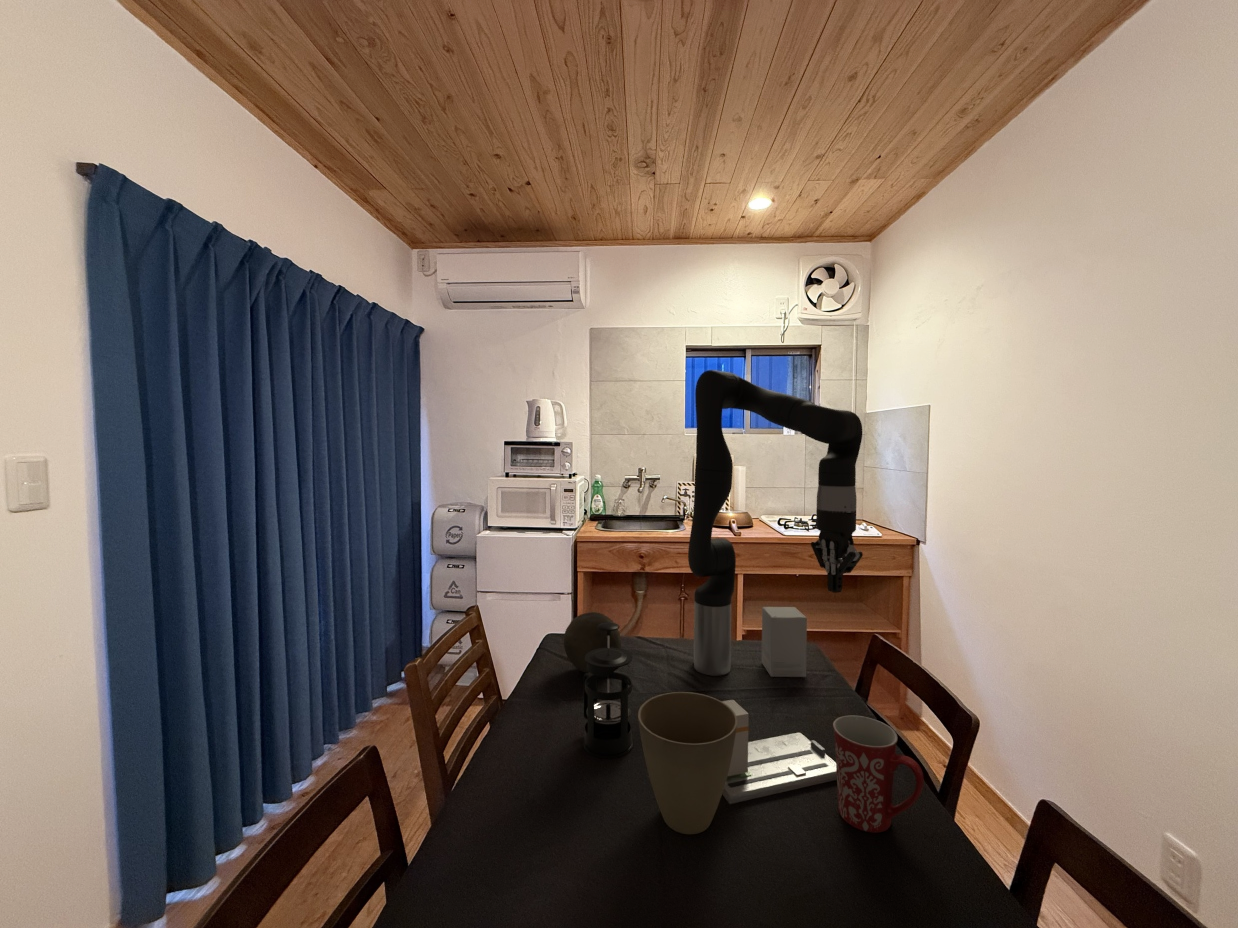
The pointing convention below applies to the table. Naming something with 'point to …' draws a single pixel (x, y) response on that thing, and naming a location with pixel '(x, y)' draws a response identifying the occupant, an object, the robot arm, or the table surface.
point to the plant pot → (687, 755)
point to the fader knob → (739, 740)
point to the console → (780, 768)
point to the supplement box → (784, 641)
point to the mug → (869, 772)
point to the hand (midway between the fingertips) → (834, 591)
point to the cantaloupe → (587, 638)
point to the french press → (607, 700)
